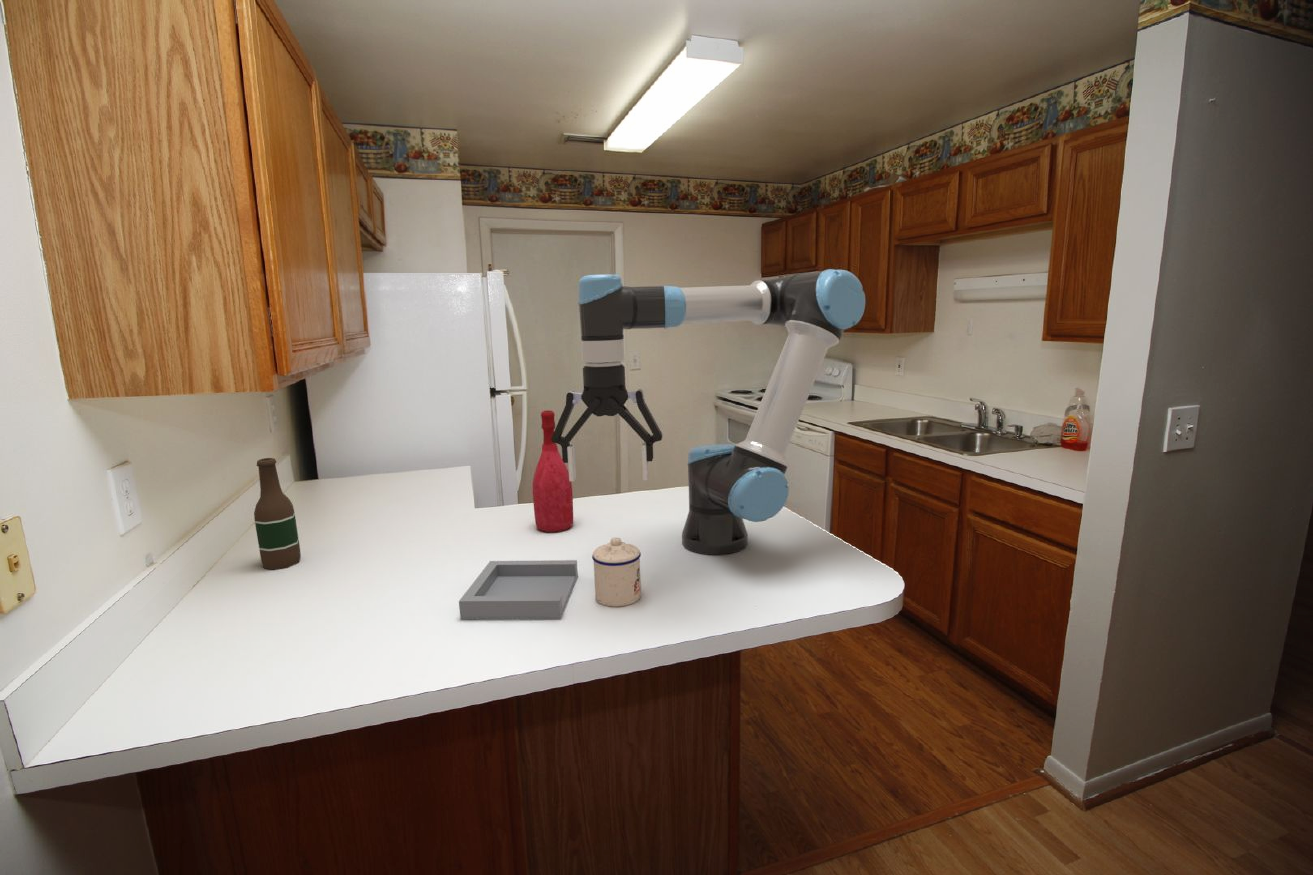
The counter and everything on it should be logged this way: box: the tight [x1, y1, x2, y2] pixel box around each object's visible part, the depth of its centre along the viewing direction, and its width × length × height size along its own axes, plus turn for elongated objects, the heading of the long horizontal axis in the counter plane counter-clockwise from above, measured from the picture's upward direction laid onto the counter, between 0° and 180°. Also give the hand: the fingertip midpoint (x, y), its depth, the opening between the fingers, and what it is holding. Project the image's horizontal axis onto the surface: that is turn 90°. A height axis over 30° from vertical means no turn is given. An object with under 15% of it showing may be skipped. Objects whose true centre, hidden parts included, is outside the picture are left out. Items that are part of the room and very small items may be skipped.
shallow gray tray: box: [458, 559, 579, 620], centre depth 117 cm, size 18×18×4 cm
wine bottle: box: [532, 410, 574, 533], centre depth 153 cm, size 10×10×30 cm
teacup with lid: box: [591, 536, 642, 608], centre depth 116 cm, size 12×9×12 cm
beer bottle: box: [253, 457, 302, 571], centre depth 134 cm, size 8×8×24 cm
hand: (609, 479), depth 113 cm, fingers open, 13 cm apart
